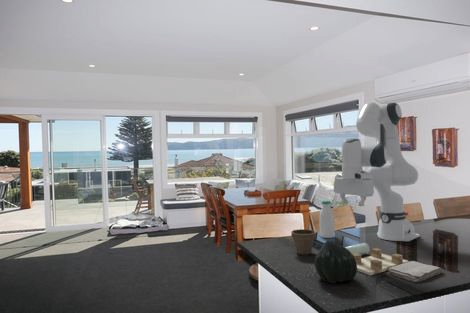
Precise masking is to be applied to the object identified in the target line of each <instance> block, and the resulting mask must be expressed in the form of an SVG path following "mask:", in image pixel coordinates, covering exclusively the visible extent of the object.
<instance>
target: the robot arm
mask: <svg viewBox="0 0 470 313" xmlns="http://www.w3.org/2000/svg"><path fill="white" fill-rule="evenodd" d="M402 114H403V113H402V109H401V106H400V105H399V104H398V103H397V102H388V103H386V104H380V105H379V104H377V103H375V102H367V103H366V104H364V105H363V106H362V108H361V110H360V112H359V114H358V116H357V118H356V124H355V127H356V129H357V131H358V132H359V133H360V134H361V135H363V136H365V137H371V138H374V139H375V140H376V141H375V142H376V144H374V145H362V143H361V139H359V138H348V139H347V138H346V139H345V140H343V141H342V145H341V160H342V166H341V173H336V175H335V176H334V181H333V182H334V183H333V192H334V194H337V195H338V194H339V197H340V199H341V201H342V202H341V203H342V204H343V205H347V204H348V200H347V199H346V195H349V196H356V197H357V196H358V197H360V201H358V206H359V207H365V202H366V200H367V197H373V196H374V195H375V194H374V193H375V190H376V191H377V193H378V195H379V200H380V203H379V204H380V211H379V218H380V219H379V221H378V228H377V229H378V231H377V232H376V235H377V237H378V239H382V240H387V241H392V242H393V241H394V242H411V241H412V240H413V241H414V240H415V239H418V238H420V234H419V233H416V232H415V226H414V224H412V222H410V221H409V220H408V219H407V217H408V216H409V215H410V214H409V212H408V211H404V198H403V196H402V195H401V194H399V192H395V191H393V190H392V188H391V186H392V187H394V186H397V187H398V186H401V187H402V186H403V187H404V186H410V185H414V184H416V183H417V181H418V179H419V172H418V170H417V169H416V168H417V167H415V166H414V165H412V164H410V163H408V161H407V160H406V159H405V158H404V156H403V154H402V150H401V143H400V135H399V130H398V127H397V125H398V124H399V122H400V120H401V118H402ZM387 162H388V163H389V164H390V165H389V164H387ZM386 164H387V165H386ZM366 167H367V169H366V170H363V168H366ZM406 216H407V217H406Z"/></svg>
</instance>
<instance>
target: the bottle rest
mask: <svg viewBox="0 0 470 313" xmlns="http://www.w3.org/2000/svg"><path fill="white" fill-rule="evenodd" d="M370 253H371V254H370V255H369V256H366V257H364V258H363V257H362V255H360V254H357V253H354V254H353V256H354V258H355V260H356V263H357V272H359V273H362V274H365V275H369V276H373V275H376V274H379V273H382V272H386V271H389V270H388V269H389V268H391V267H395V266H397V265H400V264H403V263H408V262H410V261H409V260H407V259H404V257H403V256H404V255H403V254H399V253H393V254H391V255H389V254H386V253H382V249H380V248H377V247H374V248H371V249H370Z"/></svg>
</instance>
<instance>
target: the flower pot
mask: <svg viewBox="0 0 470 313" xmlns="http://www.w3.org/2000/svg"><path fill="white" fill-rule="evenodd" d="M316 232H317V231H315V230H313V229H301V228H300V229H294V230H292V231H291V232H290V233H291V238H293V243H294V247H295V249H296V253H297V254H298V255H304V256H305V255H310V254H312V250H313V246H314V245H313V244H314V241H315V238H316V237H317V233H316Z"/></svg>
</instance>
